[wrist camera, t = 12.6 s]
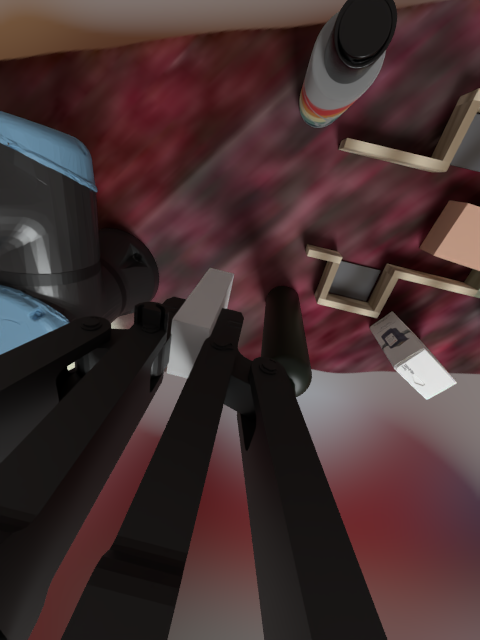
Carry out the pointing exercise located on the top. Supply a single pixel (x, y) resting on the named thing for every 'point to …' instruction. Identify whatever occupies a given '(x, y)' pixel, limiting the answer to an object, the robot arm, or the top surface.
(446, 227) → the block
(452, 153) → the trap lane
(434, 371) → the ink box
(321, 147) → the top surface
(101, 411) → the robot arm
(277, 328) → the wine bottle
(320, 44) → the lotion bottle
